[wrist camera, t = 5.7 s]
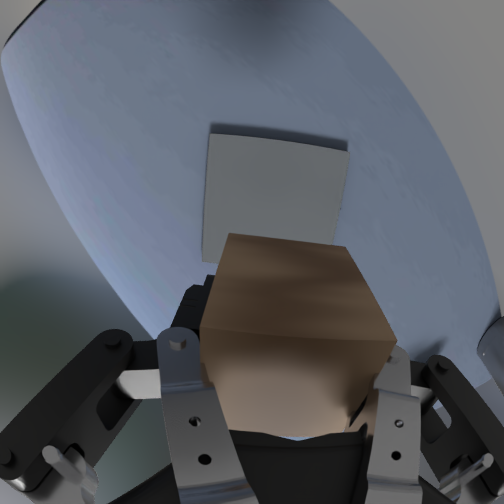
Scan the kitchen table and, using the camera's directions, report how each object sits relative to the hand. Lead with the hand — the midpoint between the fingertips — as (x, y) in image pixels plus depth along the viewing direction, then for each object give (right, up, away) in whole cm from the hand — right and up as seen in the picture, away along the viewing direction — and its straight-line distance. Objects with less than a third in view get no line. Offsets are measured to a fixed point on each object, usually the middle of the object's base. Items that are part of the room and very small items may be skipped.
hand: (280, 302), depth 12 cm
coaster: (+1, +6, +14) cm, 15 cm away
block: (0, 0, +1) cm, 1 cm away
